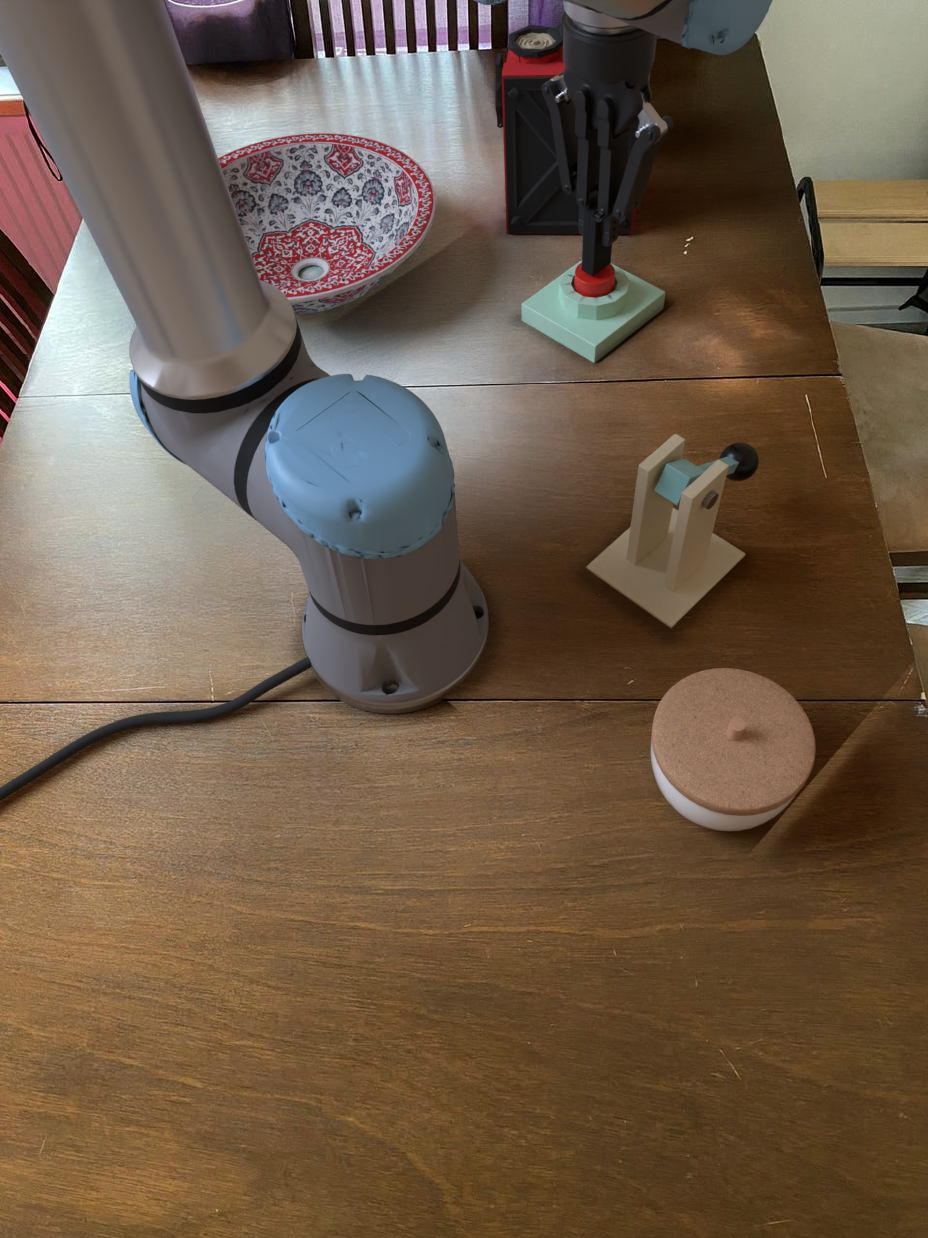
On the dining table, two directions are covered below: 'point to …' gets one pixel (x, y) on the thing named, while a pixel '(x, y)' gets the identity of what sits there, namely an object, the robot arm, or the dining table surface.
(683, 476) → the switch
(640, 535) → the bracket
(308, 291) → the ceramic bowl
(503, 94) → the black and red jerrycan
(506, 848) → the dining table surface
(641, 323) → the button box
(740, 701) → the trinket box
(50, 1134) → the dining table surface
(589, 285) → the button
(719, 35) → the robot arm
